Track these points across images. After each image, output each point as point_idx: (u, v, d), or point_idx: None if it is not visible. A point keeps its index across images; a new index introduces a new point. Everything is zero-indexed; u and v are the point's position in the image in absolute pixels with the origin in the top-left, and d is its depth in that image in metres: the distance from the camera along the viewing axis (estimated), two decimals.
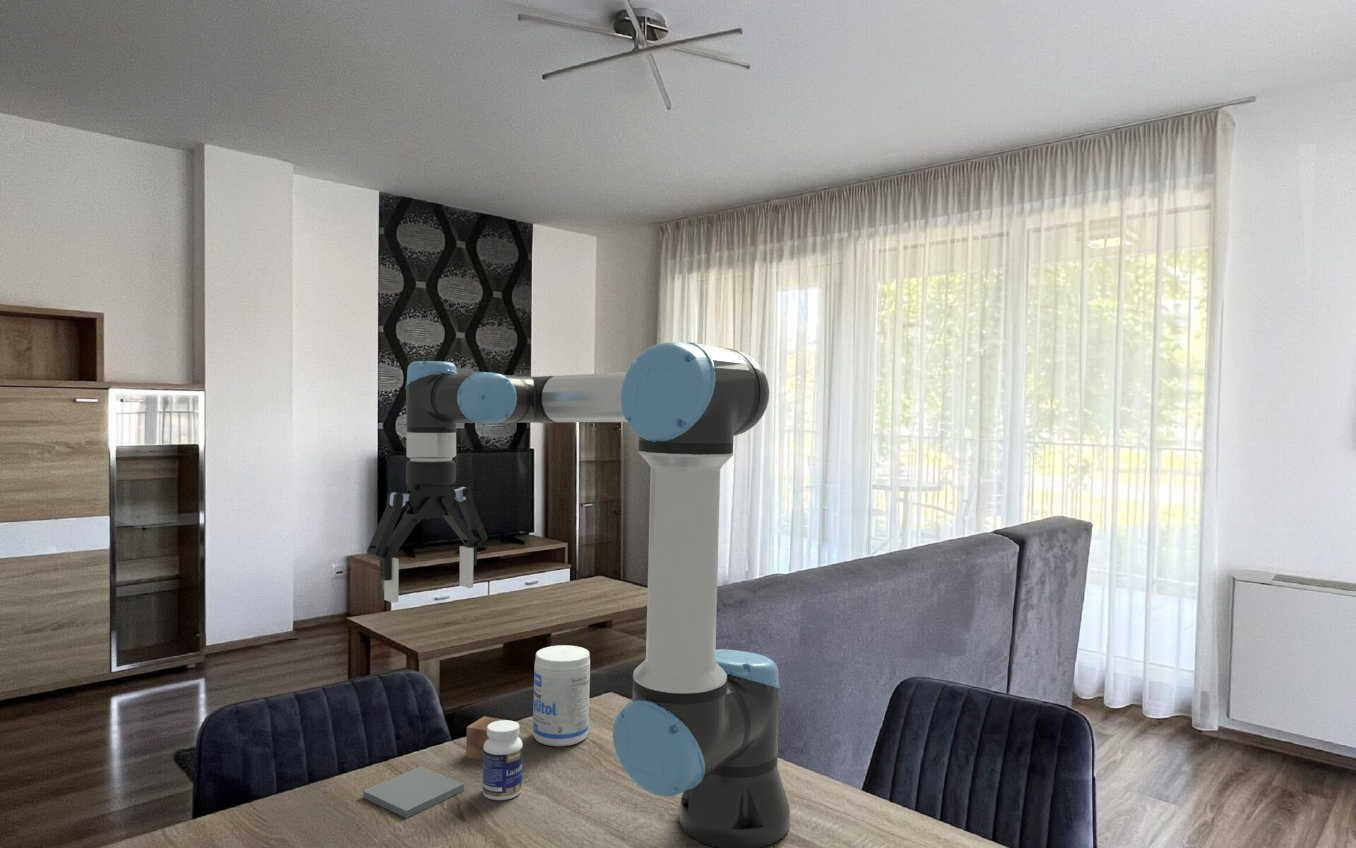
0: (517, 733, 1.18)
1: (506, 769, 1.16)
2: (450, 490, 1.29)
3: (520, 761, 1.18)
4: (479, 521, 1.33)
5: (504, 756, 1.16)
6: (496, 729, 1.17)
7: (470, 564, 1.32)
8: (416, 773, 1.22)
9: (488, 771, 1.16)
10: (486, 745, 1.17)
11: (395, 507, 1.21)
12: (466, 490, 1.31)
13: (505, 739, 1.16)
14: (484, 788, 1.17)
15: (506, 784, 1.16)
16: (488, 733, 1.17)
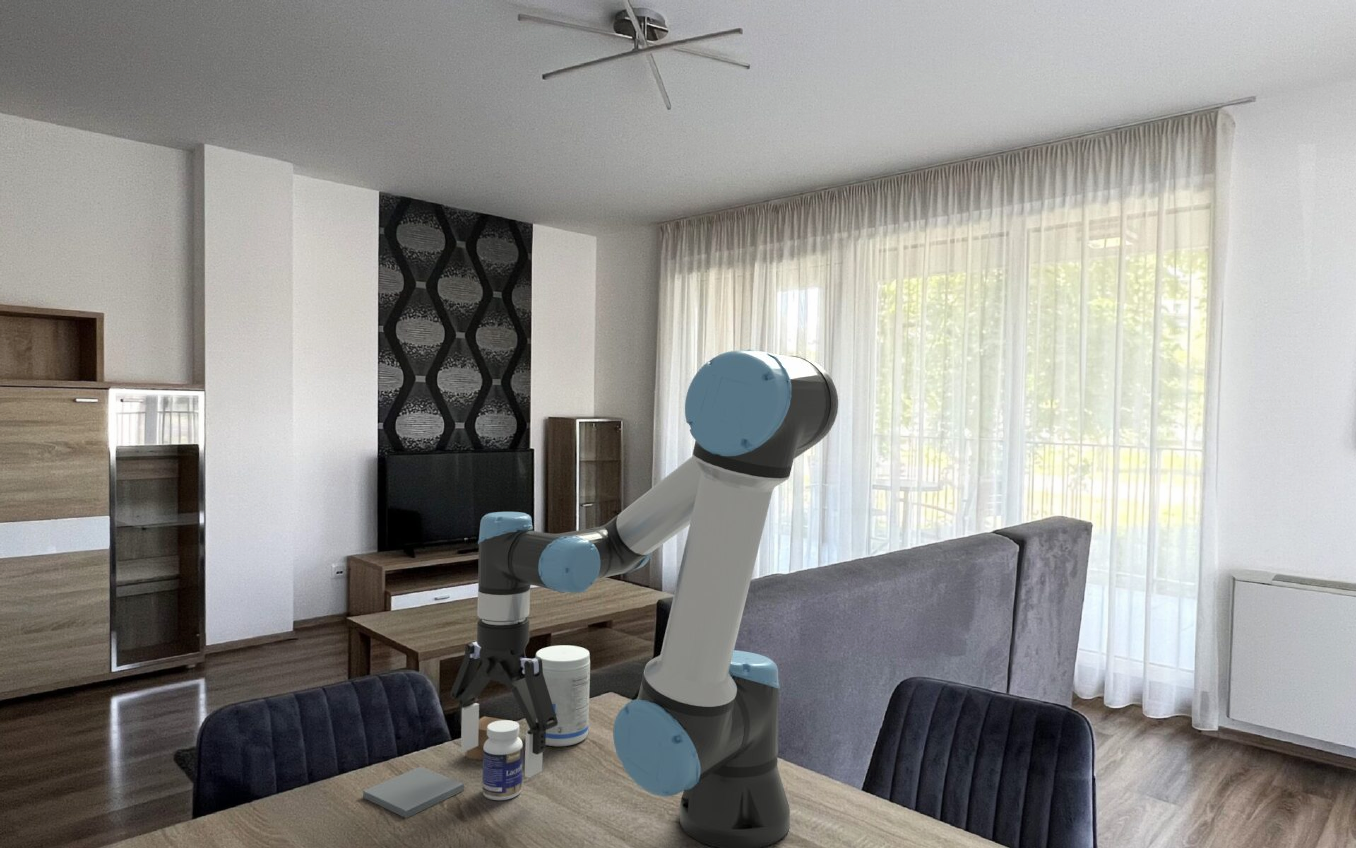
0: (517, 733, 1.18)
1: (506, 769, 1.16)
2: (510, 657, 1.16)
3: (520, 761, 1.18)
4: (537, 705, 1.13)
5: (504, 756, 1.16)
6: (496, 729, 1.17)
7: (526, 750, 1.14)
8: (416, 773, 1.22)
9: (488, 771, 1.16)
10: (486, 745, 1.17)
11: (465, 657, 1.21)
12: (525, 663, 1.14)
13: (505, 739, 1.16)
14: (484, 788, 1.17)
15: (506, 784, 1.16)
16: (488, 733, 1.17)
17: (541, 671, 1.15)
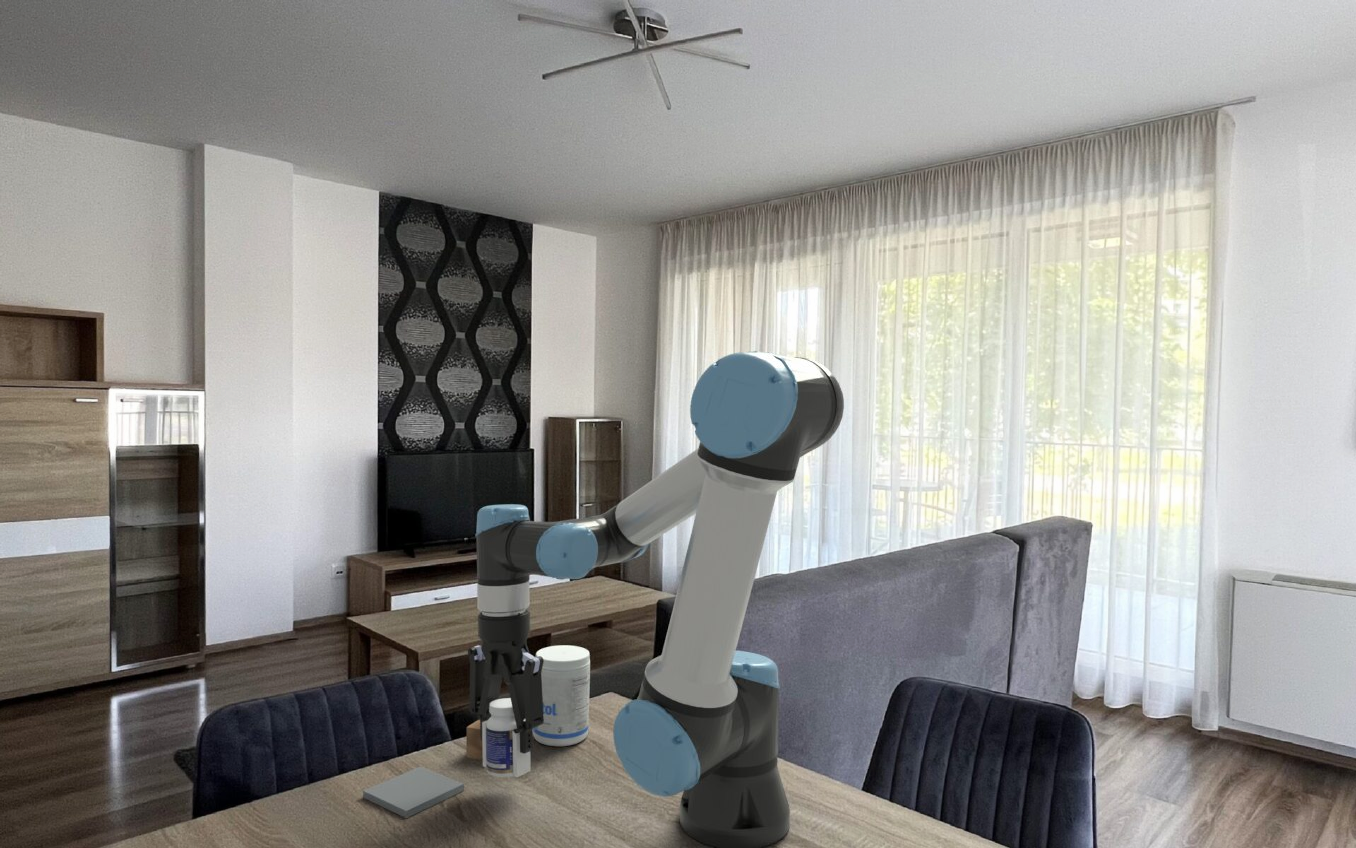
0: None
1: (510, 745, 1.15)
2: (514, 649, 1.15)
3: None
4: (529, 704, 1.14)
5: (507, 733, 1.15)
6: (499, 706, 1.17)
7: (513, 749, 1.15)
8: (416, 773, 1.22)
9: (492, 748, 1.16)
10: (489, 722, 1.17)
11: (470, 663, 1.21)
12: (527, 662, 1.14)
13: (508, 716, 1.16)
14: (488, 766, 1.16)
15: (510, 761, 1.15)
16: (491, 710, 1.17)
17: (540, 671, 1.15)
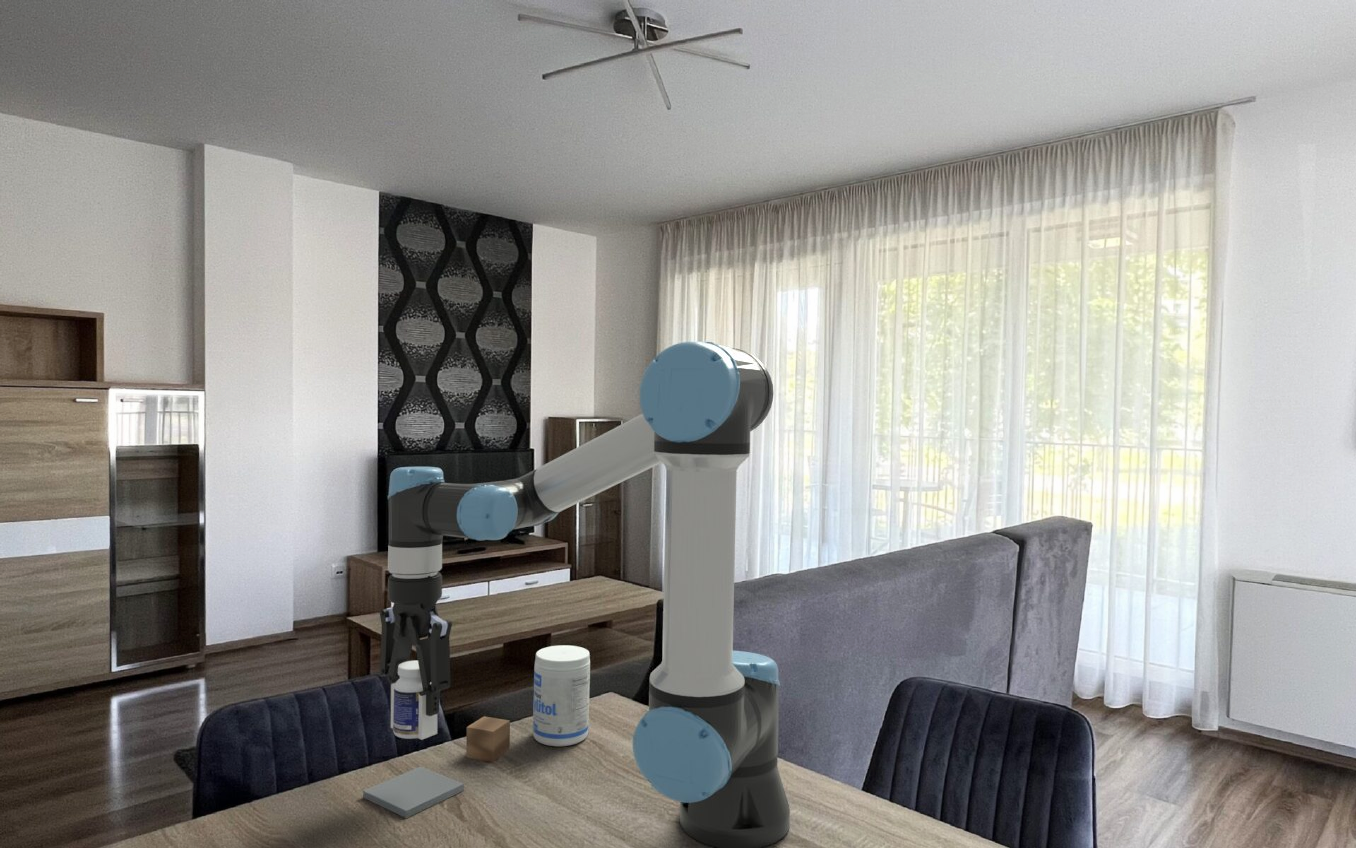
0: None
1: (416, 707, 1.15)
2: (422, 611, 1.15)
3: None
4: (434, 667, 1.13)
5: (413, 694, 1.15)
6: (407, 667, 1.16)
7: (419, 712, 1.15)
8: (416, 773, 1.22)
9: (398, 709, 1.15)
10: (396, 683, 1.16)
11: (382, 624, 1.20)
12: (434, 624, 1.13)
13: (415, 677, 1.16)
14: (394, 727, 1.16)
15: (416, 722, 1.15)
16: (399, 672, 1.16)
17: (448, 634, 1.15)
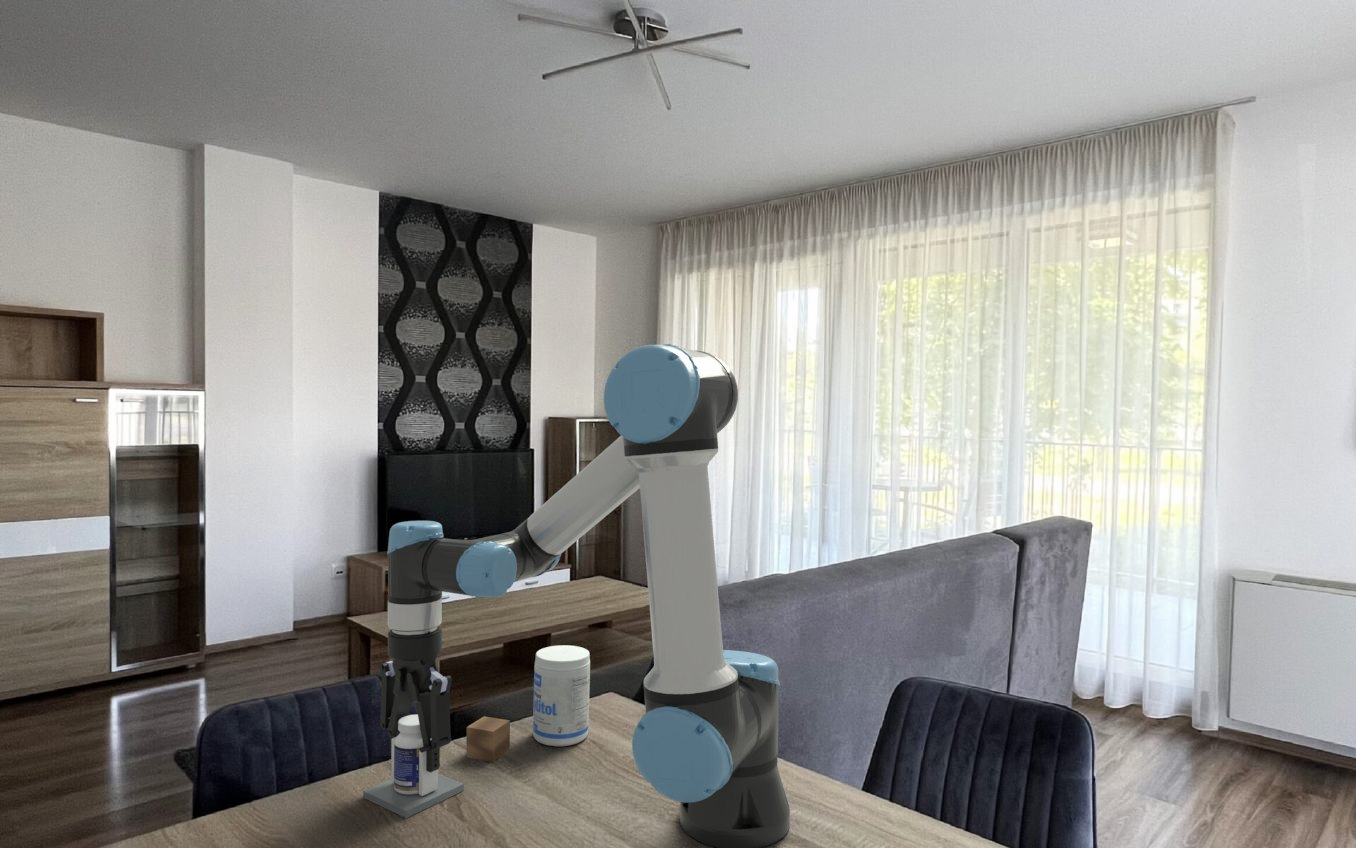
0: None
1: (417, 763, 1.15)
2: (422, 668, 1.15)
3: None
4: (435, 723, 1.13)
5: (414, 750, 1.15)
6: (407, 723, 1.16)
7: (420, 768, 1.15)
8: None
9: (398, 765, 1.15)
10: (397, 739, 1.16)
11: (382, 678, 1.20)
12: (434, 681, 1.13)
13: (416, 733, 1.16)
14: (395, 783, 1.16)
15: (416, 778, 1.15)
16: (399, 727, 1.16)
17: (448, 690, 1.15)
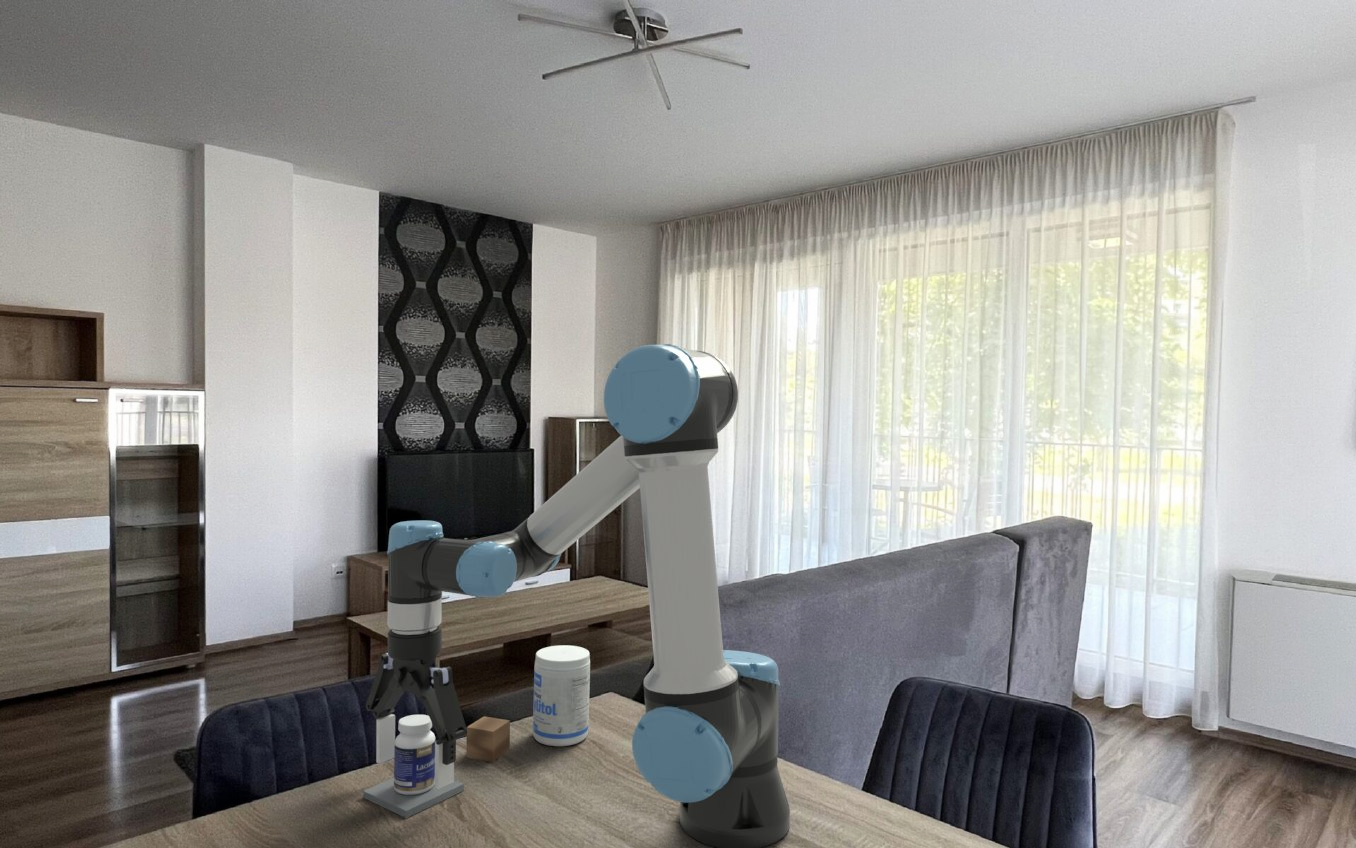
0: (429, 727, 1.17)
1: (417, 763, 1.15)
2: (420, 667, 1.15)
3: (432, 755, 1.17)
4: (445, 714, 1.12)
5: (414, 751, 1.15)
6: (407, 723, 1.16)
7: (436, 760, 1.13)
8: None
9: (399, 765, 1.15)
10: (397, 739, 1.16)
11: (379, 667, 1.20)
12: (433, 673, 1.13)
13: (416, 734, 1.16)
14: (395, 783, 1.16)
15: (416, 779, 1.15)
16: (399, 728, 1.16)
17: (451, 680, 1.14)
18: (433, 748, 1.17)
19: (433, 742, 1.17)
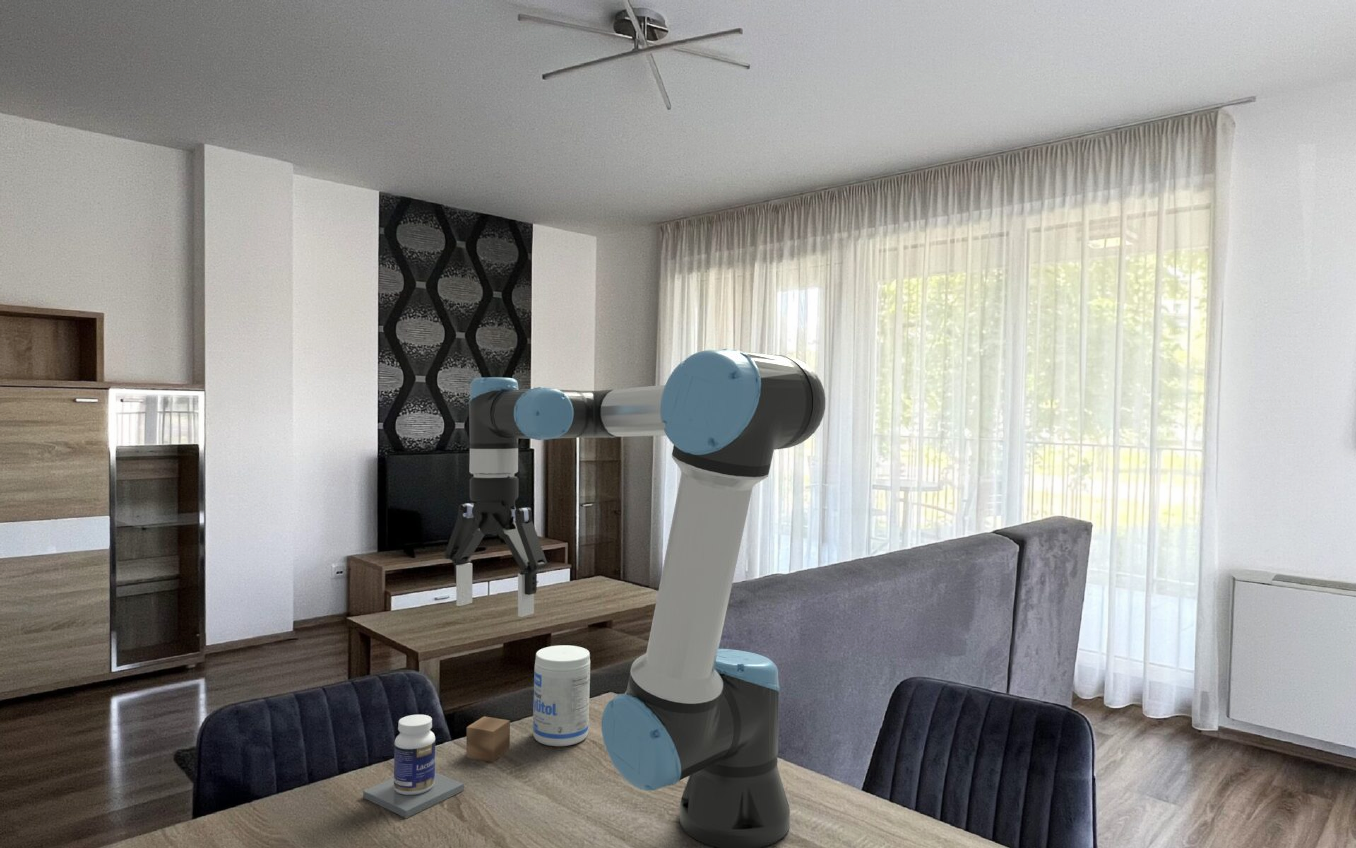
0: (429, 727, 1.17)
1: (417, 763, 1.15)
2: (502, 508, 1.25)
3: (432, 755, 1.17)
4: (528, 547, 1.22)
5: (414, 751, 1.15)
6: (407, 723, 1.16)
7: (519, 591, 1.23)
8: None
9: (399, 765, 1.15)
10: (397, 739, 1.16)
11: (458, 517, 1.30)
12: (515, 511, 1.23)
13: (416, 734, 1.16)
14: (395, 783, 1.16)
15: (416, 779, 1.15)
16: (399, 728, 1.16)
17: (531, 519, 1.24)
18: (433, 748, 1.17)
19: (433, 742, 1.17)
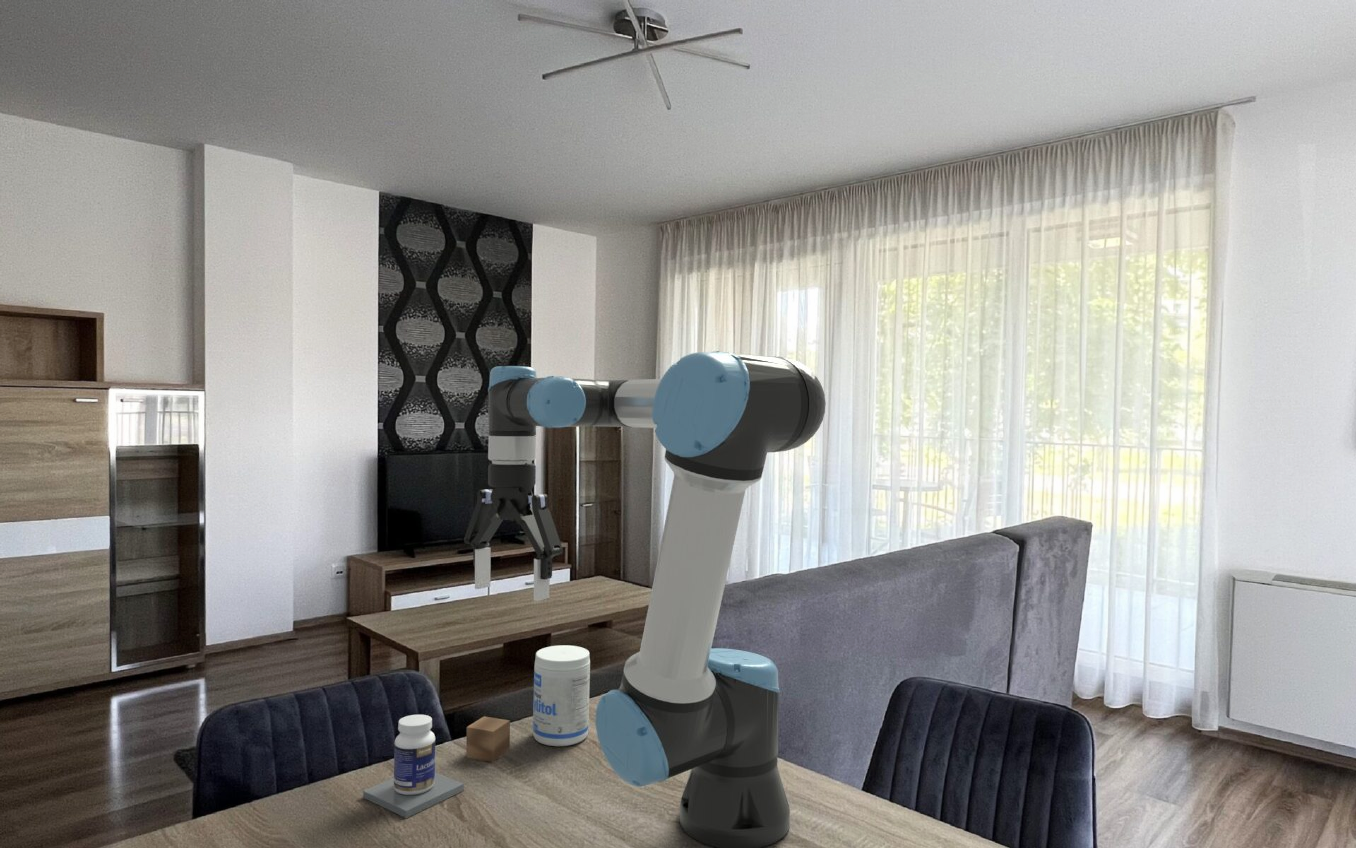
0: (429, 727, 1.17)
1: (417, 763, 1.15)
2: (519, 495, 1.27)
3: (432, 755, 1.17)
4: (544, 533, 1.24)
5: (414, 751, 1.15)
6: (407, 723, 1.16)
7: (534, 576, 1.25)
8: None
9: (399, 765, 1.15)
10: (397, 739, 1.16)
11: (477, 502, 1.33)
12: (532, 497, 1.26)
13: (416, 734, 1.16)
14: (395, 783, 1.16)
15: (416, 779, 1.15)
16: (399, 728, 1.16)
17: (547, 506, 1.27)
18: (433, 748, 1.17)
19: (433, 742, 1.17)
